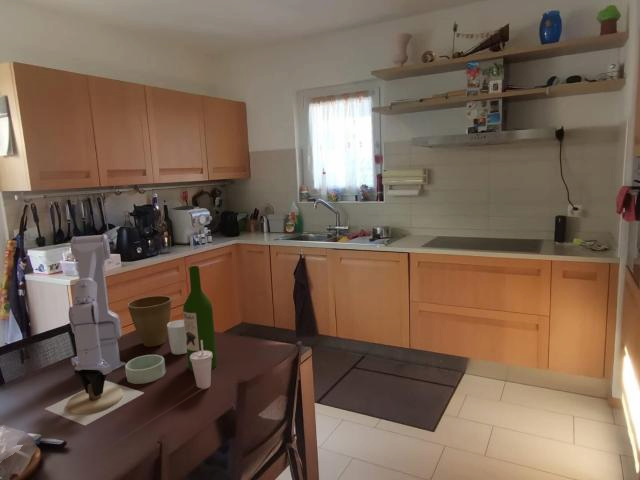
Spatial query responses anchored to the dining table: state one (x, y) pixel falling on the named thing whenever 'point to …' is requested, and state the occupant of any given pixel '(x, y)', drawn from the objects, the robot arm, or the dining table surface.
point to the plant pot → (151, 318)
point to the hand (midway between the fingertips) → (94, 393)
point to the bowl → (145, 369)
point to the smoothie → (202, 367)
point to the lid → (94, 400)
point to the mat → (85, 419)
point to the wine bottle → (198, 320)
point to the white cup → (177, 337)
